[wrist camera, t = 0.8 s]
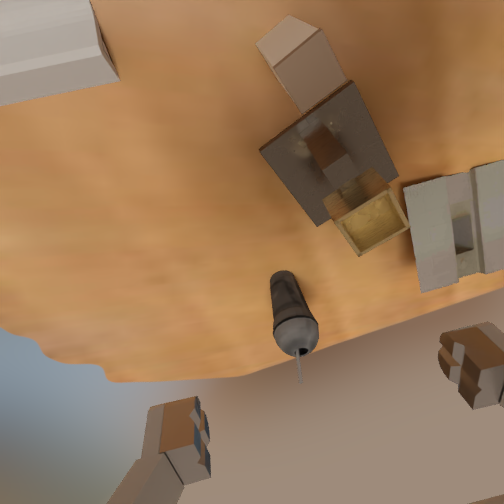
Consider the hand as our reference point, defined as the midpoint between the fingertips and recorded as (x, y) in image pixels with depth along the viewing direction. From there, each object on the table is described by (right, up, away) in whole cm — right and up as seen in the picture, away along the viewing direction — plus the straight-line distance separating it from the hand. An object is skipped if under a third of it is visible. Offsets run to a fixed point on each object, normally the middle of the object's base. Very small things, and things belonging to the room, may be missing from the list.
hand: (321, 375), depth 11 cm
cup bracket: (+9, +17, +37) cm, 42 cm away
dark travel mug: (+3, -1, +51) cm, 51 cm away
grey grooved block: (+30, +11, +46) cm, 55 cm away
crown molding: (-34, +25, +25) cm, 49 cm away
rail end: (+1, +27, +28) cm, 39 cm away
